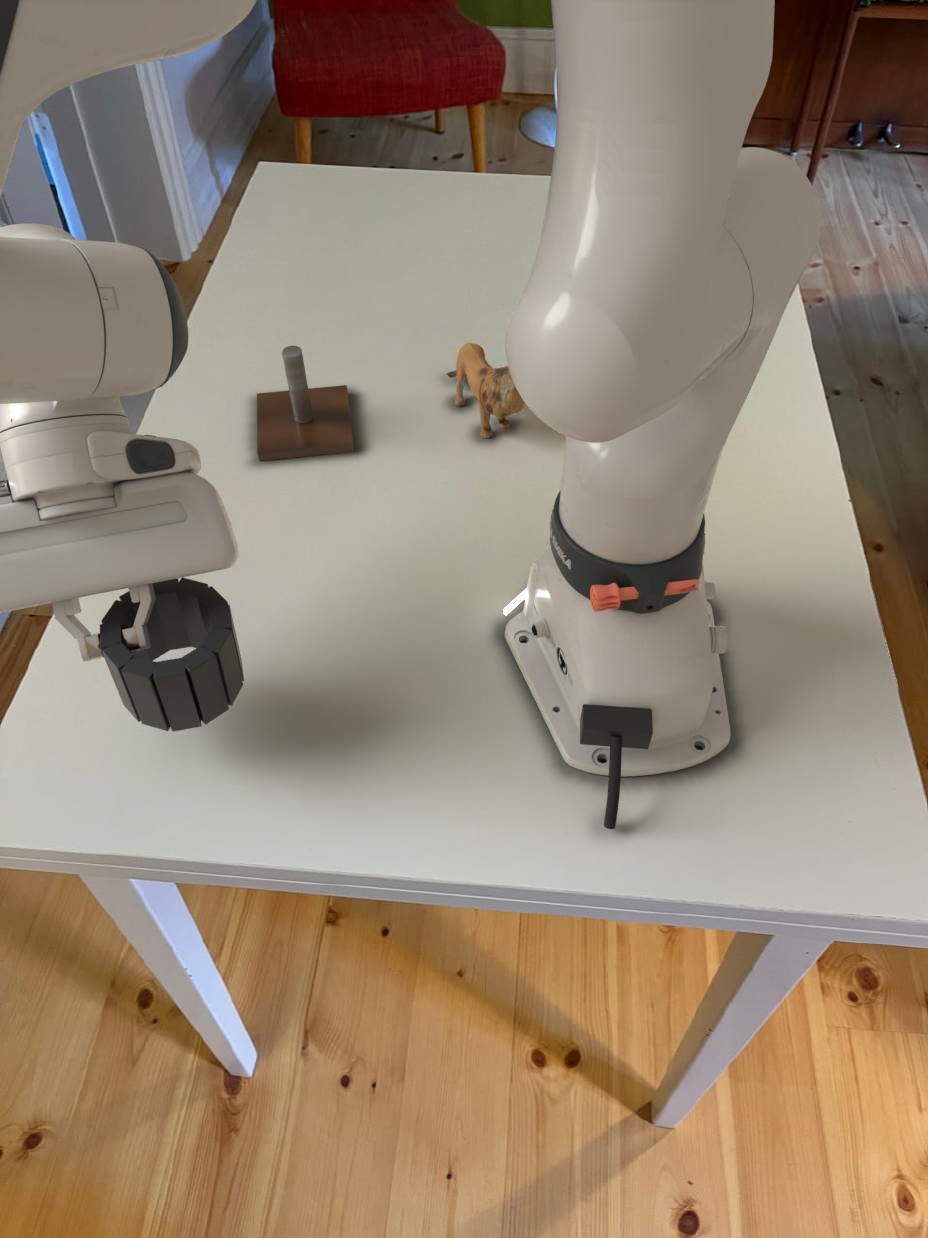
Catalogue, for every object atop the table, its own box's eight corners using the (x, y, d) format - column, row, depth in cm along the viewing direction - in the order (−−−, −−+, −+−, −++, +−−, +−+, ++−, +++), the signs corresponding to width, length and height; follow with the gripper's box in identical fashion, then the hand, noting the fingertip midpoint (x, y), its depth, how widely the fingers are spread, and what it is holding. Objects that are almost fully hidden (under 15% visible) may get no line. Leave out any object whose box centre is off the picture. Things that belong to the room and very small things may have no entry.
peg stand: (354, 451, 99) (344, 376, 91) (259, 461, 98) (241, 386, 90) (347, 393, 105) (338, 318, 97) (258, 401, 104) (242, 327, 96)
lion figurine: (542, 440, 100) (547, 369, 93) (501, 458, 98) (503, 388, 91) (465, 370, 107) (465, 301, 100) (426, 386, 105) (423, 317, 98)
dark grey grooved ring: (249, 718, 72) (237, 665, 67) (123, 740, 70) (100, 687, 65) (237, 625, 78) (225, 569, 72) (120, 643, 76) (98, 587, 70)
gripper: (-97, 492, 62) (-46, 691, 64) (209, 439, 65) (252, 630, 67) (-61, 496, 69) (-15, 678, 70) (217, 447, 72) (256, 622, 73)
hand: (118, 654), depth 69 cm, fingers closed on dark grey grooved ring
